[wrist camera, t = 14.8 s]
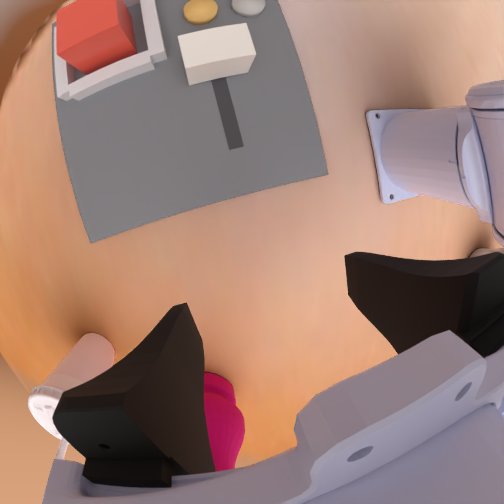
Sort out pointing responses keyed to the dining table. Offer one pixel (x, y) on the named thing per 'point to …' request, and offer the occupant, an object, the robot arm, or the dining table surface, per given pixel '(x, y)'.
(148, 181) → the panel
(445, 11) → the dining table surface
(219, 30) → the block
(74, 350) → the smoothie
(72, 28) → the cap
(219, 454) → the pepper mill
